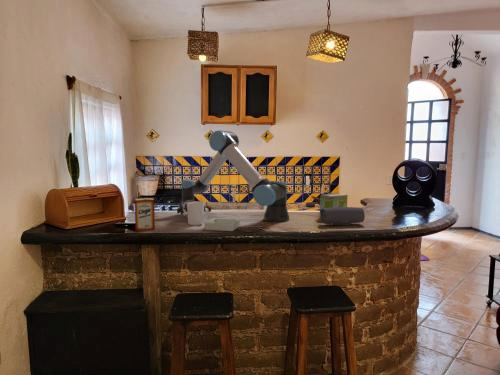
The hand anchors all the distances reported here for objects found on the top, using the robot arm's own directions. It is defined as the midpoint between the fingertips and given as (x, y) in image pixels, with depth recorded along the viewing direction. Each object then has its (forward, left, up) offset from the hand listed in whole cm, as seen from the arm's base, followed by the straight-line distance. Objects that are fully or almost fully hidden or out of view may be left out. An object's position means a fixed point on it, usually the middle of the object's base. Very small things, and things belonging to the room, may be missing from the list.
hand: (196, 212), depth 198 cm
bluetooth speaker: (-78, -21, -7) cm, 81 cm away
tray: (-16, +3, -7) cm, 18 cm away
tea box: (-73, -41, -7) cm, 84 cm away
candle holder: (+2, -3, -7) cm, 8 cm away
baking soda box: (+22, +17, -7) cm, 29 cm away
